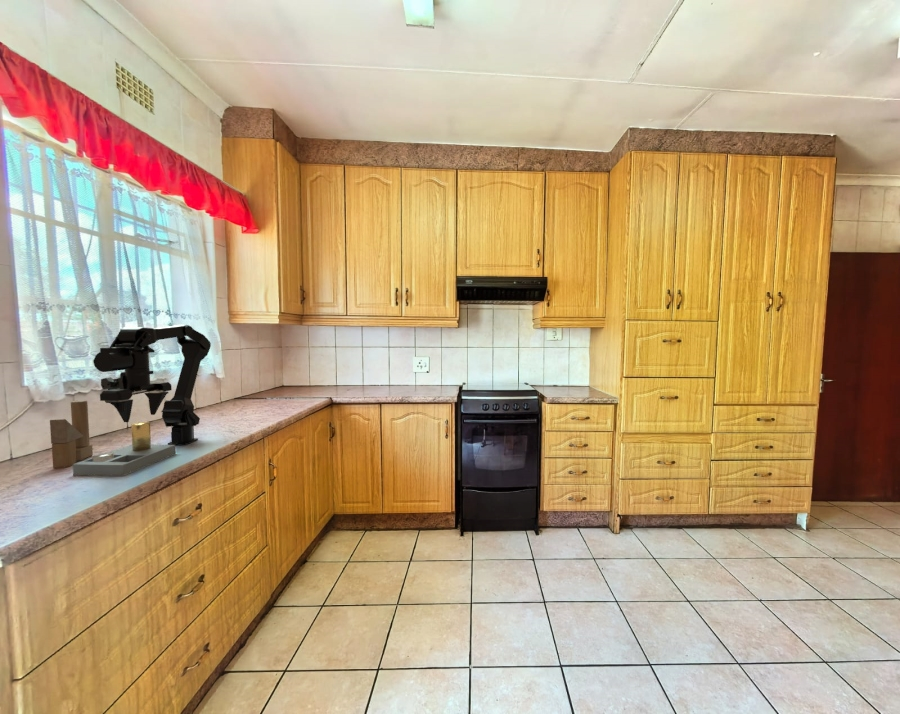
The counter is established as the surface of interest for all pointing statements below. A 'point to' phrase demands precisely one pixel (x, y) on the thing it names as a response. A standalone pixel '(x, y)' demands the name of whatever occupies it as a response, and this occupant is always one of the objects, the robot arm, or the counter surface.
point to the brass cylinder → (141, 436)
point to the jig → (124, 461)
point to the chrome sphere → (103, 457)
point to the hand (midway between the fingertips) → (140, 418)
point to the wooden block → (71, 437)
